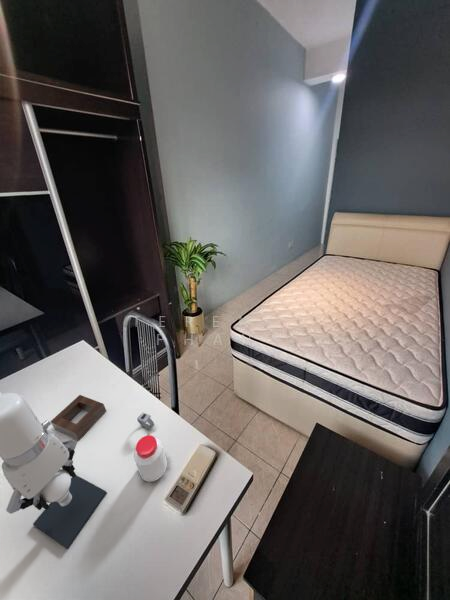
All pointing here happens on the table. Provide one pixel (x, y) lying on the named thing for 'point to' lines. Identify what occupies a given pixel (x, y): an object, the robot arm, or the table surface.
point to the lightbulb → (58, 489)
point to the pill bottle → (150, 458)
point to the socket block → (72, 410)
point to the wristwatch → (145, 420)
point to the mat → (71, 512)
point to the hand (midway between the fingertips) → (57, 489)
